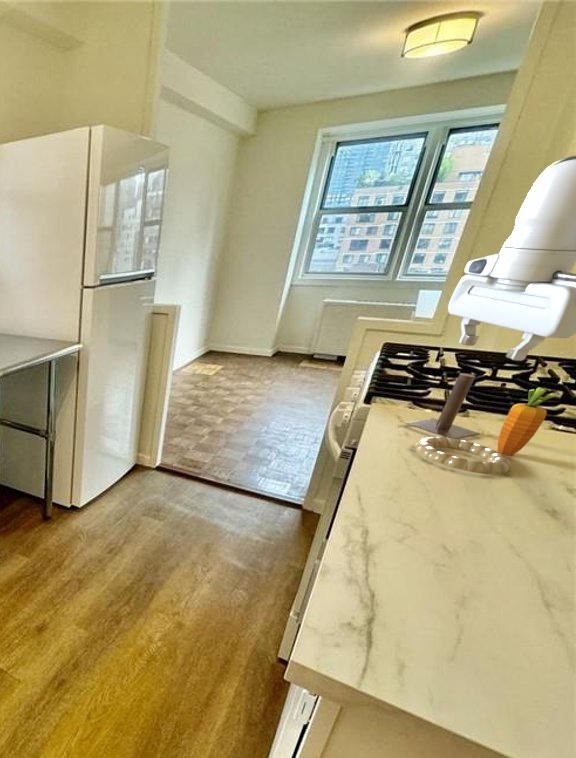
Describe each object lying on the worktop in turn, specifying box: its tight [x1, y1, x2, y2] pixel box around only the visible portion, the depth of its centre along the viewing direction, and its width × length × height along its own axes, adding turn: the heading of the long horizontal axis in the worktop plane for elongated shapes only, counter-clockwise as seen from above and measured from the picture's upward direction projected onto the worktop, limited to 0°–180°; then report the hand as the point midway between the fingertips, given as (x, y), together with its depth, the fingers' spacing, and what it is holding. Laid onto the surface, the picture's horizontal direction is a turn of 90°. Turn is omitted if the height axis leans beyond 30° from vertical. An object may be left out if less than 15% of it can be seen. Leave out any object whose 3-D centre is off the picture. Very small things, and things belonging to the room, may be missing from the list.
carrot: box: [497, 387, 558, 457], centre depth 92 cm, size 5×5×15 cm
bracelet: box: [414, 436, 512, 475], centre depth 93 cm, size 14×14×3 cm
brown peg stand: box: [405, 372, 480, 439], centre depth 103 cm, size 9×9×14 cm
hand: (488, 351), depth 85 cm, fingers open, 8 cm apart
